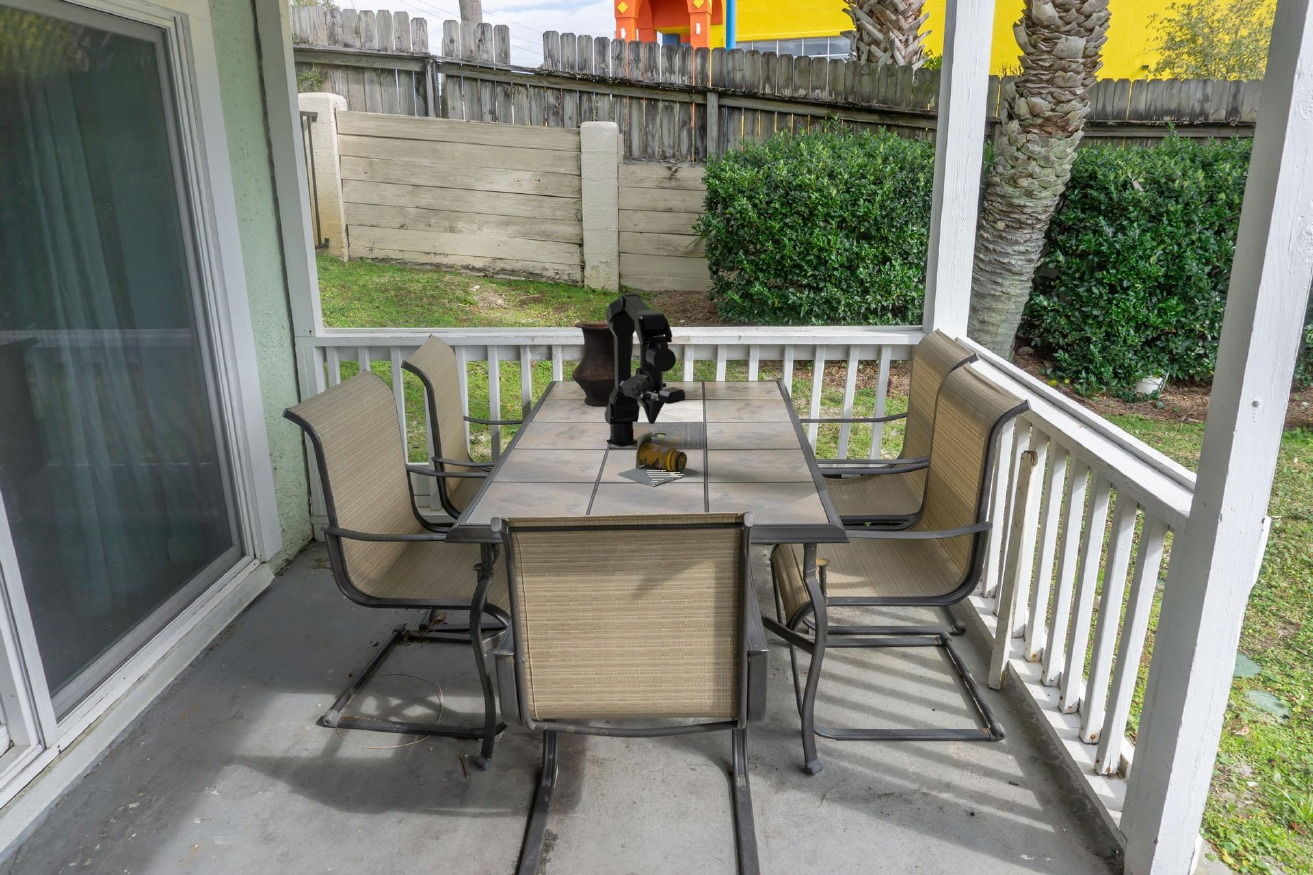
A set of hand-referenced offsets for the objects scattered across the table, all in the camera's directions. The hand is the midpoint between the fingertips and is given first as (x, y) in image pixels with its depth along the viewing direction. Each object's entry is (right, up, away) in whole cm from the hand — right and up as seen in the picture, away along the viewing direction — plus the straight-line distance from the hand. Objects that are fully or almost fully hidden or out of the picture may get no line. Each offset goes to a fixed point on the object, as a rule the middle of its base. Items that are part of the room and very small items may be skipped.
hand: (651, 423), depth 228 cm
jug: (-17, +8, +72) cm, 75 cm away
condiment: (-2, -7, +7) cm, 10 cm away
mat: (+1, -13, +2) cm, 13 cm away
